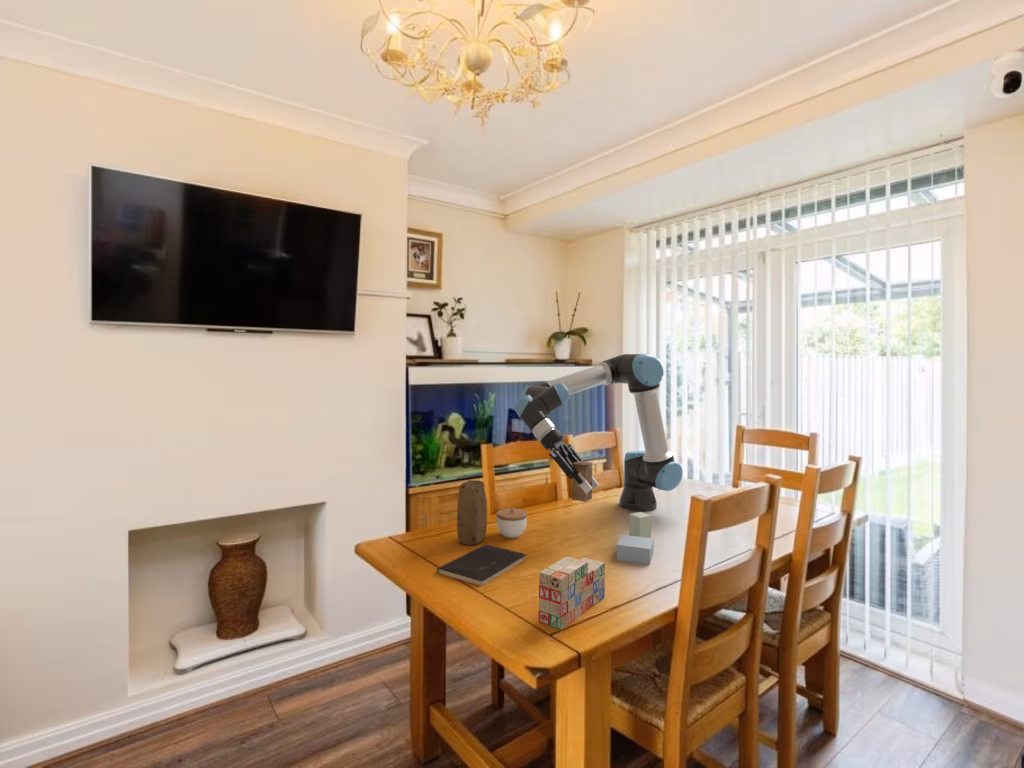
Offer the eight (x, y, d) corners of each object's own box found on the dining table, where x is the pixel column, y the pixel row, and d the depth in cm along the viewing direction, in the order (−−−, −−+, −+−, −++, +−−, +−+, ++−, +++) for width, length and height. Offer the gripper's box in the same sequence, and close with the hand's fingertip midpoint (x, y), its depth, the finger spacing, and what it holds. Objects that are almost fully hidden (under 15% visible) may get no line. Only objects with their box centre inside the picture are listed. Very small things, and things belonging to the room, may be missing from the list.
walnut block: (577, 496, 179) (578, 460, 178) (591, 498, 176) (592, 462, 175) (571, 499, 174) (572, 463, 174) (585, 501, 172) (586, 465, 171)
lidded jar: (533, 536, 184) (533, 509, 183) (506, 542, 178) (506, 514, 178) (516, 528, 193) (516, 502, 192) (490, 533, 187) (490, 506, 187)
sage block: (640, 537, 184) (640, 511, 184) (650, 542, 180) (651, 515, 179) (629, 539, 182) (629, 513, 181) (639, 544, 177) (640, 517, 177)
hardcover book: (526, 561, 163) (526, 554, 163) (482, 588, 144) (482, 580, 144) (484, 550, 172) (484, 543, 172) (436, 575, 152) (436, 567, 152)
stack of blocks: (583, 591, 142) (584, 545, 141) (605, 597, 138) (605, 551, 137) (538, 622, 125) (538, 571, 124) (560, 631, 121) (561, 578, 120)
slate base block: (621, 549, 173) (622, 534, 173) (653, 554, 170) (653, 538, 169) (616, 560, 164) (616, 544, 163) (649, 565, 160) (650, 549, 160)
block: (474, 547, 173) (475, 486, 172) (454, 544, 176) (454, 484, 175) (489, 537, 183) (490, 479, 182) (470, 534, 186) (470, 477, 185)
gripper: (552, 438, 190) (595, 490, 182) (528, 445, 174) (573, 502, 167) (566, 424, 187) (610, 476, 179) (542, 430, 171) (589, 488, 164)
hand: (592, 489), depth 173 cm, fingers closed on walnut block, 5 cm apart
